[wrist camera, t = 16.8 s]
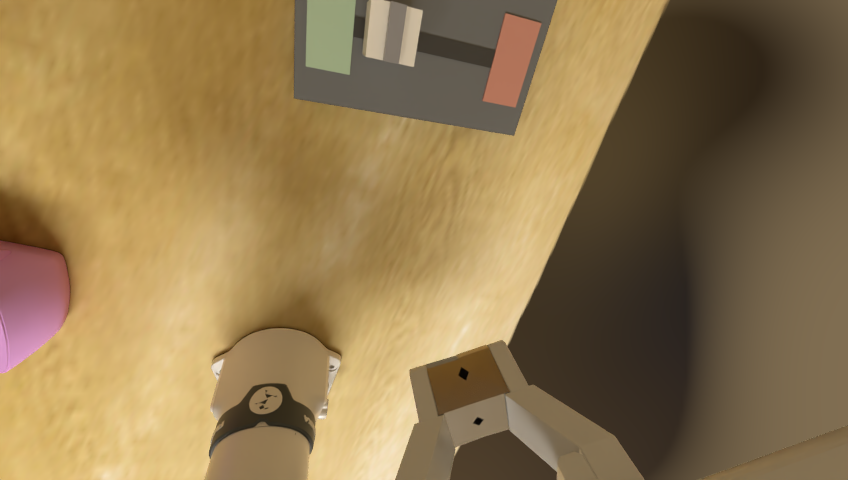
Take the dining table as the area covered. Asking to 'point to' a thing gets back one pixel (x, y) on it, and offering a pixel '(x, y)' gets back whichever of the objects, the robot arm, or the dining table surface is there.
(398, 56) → the handle
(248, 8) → the dining table surface
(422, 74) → the breaker panel
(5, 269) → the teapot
